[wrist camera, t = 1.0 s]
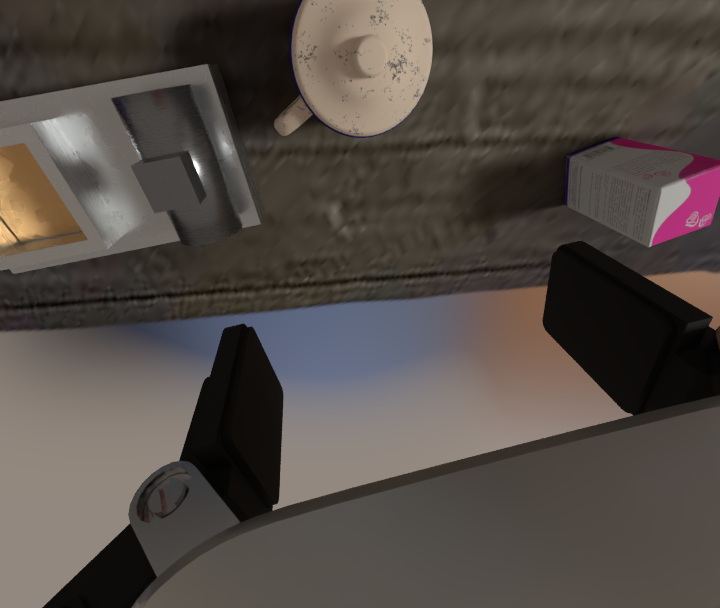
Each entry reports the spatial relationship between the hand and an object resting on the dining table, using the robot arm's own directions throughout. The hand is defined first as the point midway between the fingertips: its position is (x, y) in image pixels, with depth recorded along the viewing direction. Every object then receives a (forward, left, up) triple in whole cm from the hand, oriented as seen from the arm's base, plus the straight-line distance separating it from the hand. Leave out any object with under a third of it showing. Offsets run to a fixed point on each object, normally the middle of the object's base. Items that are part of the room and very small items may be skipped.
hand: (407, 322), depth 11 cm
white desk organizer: (-2, -19, -26) cm, 33 cm away
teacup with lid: (-6, +1, -27) cm, 27 cm away
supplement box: (+7, +27, -27) cm, 39 cm away
